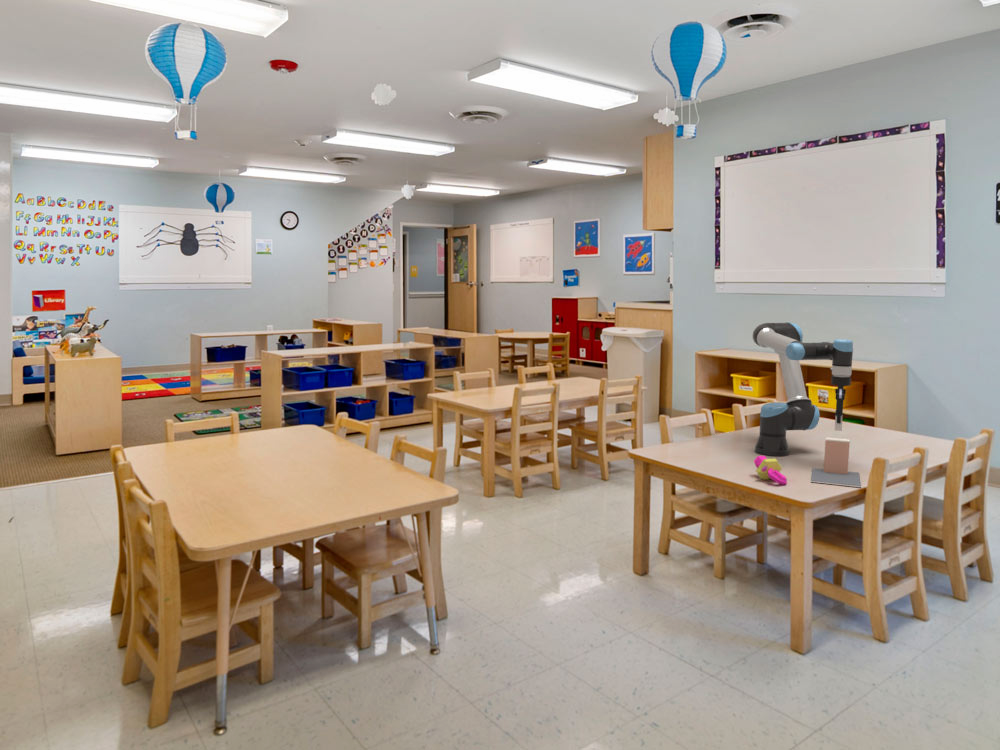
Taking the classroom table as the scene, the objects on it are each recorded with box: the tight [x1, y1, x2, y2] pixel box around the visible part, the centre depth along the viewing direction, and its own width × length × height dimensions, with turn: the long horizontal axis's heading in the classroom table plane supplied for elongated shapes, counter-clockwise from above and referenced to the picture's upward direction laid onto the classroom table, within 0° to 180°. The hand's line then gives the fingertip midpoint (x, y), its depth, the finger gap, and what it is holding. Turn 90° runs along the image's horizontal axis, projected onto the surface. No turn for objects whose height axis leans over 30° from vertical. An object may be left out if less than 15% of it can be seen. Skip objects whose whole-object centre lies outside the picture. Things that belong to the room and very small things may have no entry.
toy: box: [753, 455, 788, 485], centre depth 284 cm, size 10×18×10 cm
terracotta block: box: [823, 436, 851, 474], centre depth 292 cm, size 4×9×14 cm, turn 65°
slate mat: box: [810, 467, 862, 489], centre depth 286 cm, size 22×18×1 cm
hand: (838, 430), depth 300 cm, fingers closed
